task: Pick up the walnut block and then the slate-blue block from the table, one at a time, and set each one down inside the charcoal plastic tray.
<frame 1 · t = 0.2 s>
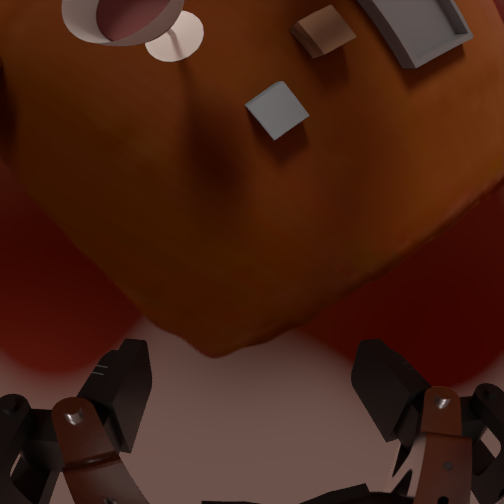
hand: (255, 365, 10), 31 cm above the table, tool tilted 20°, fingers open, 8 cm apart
slate block: (272, 108, 32), on the table
wineglass: (173, 35, 26), on the table
walnut block: (315, 35, 27), on the table
tray: (408, 7, 23), on the table
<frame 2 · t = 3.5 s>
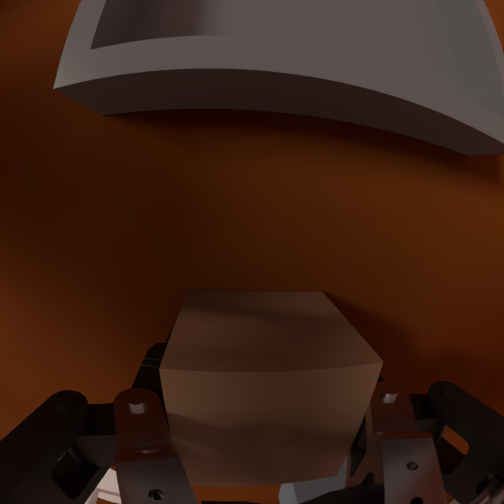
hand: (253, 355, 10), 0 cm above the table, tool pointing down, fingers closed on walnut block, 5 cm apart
slate block: (319, 474, 14), on the table
wineglass: (97, 480, 13), on the table
walnut block: (253, 348, 11), on the table, touching gripper
when the fingers open (3 cm above the table, at t = 8.8 s): walnut block drops 2 cm, resting on tray.
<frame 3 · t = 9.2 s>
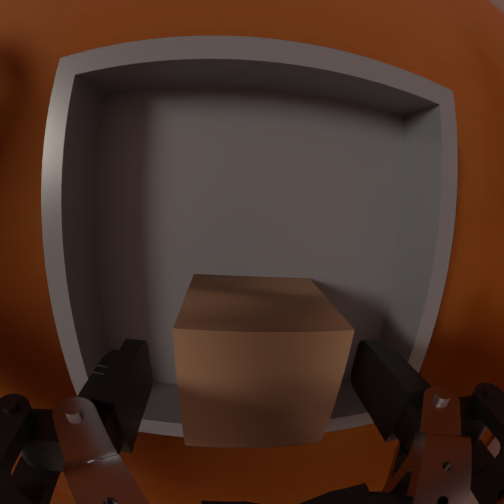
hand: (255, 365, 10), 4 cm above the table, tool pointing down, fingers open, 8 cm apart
walnut block: (249, 328, 13), point 1 cm above the table, touching tray
tray: (251, 250, 12), on the table
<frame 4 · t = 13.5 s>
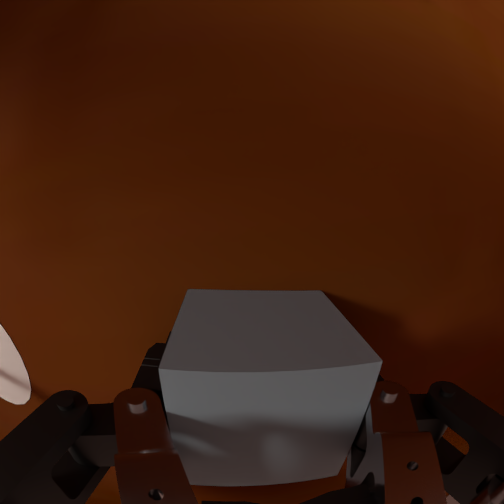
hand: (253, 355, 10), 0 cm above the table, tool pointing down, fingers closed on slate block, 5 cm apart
slate block: (253, 348, 11), on the table, touching gripper
when the fingers open (3 cm above the table, at t = 20.2 s): slate block drops 2 cm, resting on tray.
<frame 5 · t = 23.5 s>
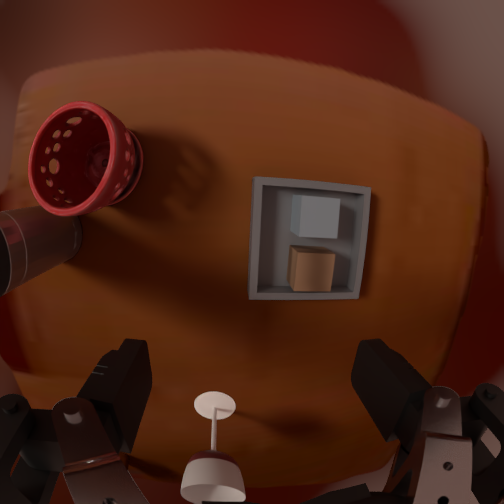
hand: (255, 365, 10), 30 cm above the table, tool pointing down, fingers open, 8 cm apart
slate block: (309, 213, 39), point 1 cm above the table, touching tray
wineglass: (214, 405, 45), on the table
walnut block: (304, 262, 40), point 1 cm above the table, touching tray
plant pot: (108, 164, 35), on the table
tray: (305, 238, 40), on the table
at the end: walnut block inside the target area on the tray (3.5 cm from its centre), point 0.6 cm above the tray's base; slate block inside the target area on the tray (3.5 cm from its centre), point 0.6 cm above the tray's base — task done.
